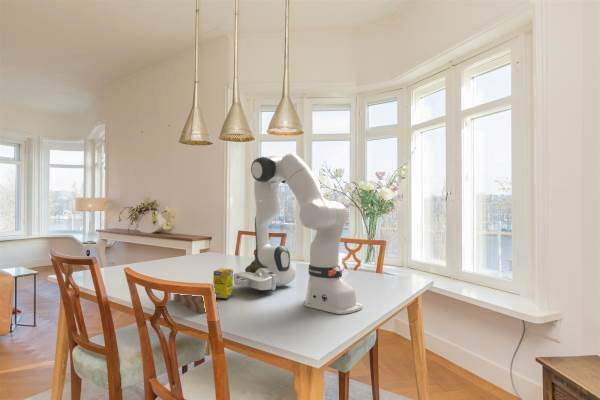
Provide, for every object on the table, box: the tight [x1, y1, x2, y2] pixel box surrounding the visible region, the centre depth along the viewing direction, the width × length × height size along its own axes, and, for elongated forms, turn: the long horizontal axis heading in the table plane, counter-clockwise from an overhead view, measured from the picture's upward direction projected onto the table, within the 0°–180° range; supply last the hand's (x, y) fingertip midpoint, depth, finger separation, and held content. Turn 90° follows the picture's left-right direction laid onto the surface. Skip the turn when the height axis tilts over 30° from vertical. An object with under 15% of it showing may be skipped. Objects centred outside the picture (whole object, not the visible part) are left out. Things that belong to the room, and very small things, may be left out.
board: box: [173, 293, 206, 315], centre depth 125 cm, size 22×3×6 cm, turn 42°
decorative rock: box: [244, 259, 268, 273], centre depth 177 cm, size 15×16×10 cm
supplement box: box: [212, 267, 234, 301], centre depth 136 cm, size 6×6×11 cm
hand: (235, 282), depth 140 cm, fingers closed
